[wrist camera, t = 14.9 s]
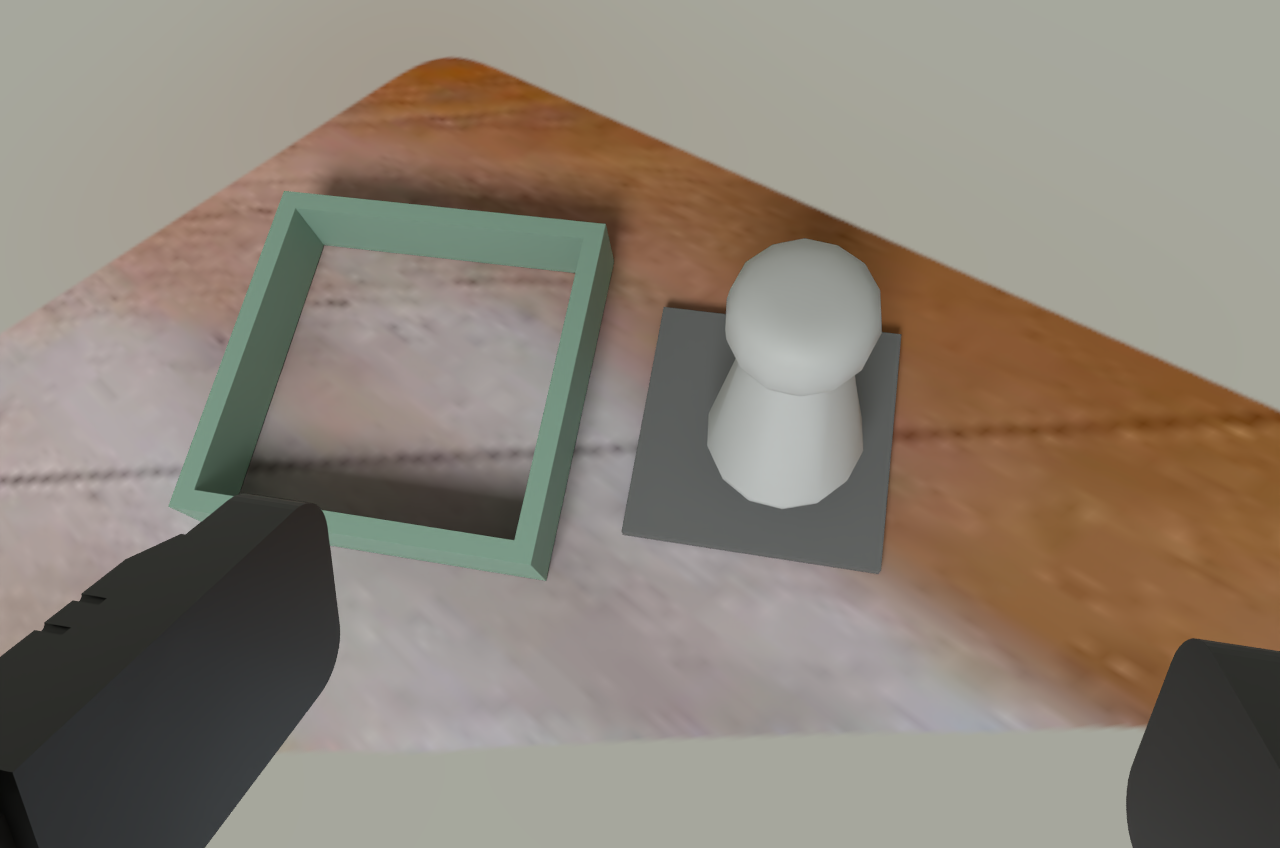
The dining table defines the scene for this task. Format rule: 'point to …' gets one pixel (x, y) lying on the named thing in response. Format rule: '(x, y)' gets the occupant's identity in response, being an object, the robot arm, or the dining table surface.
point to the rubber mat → (712, 509)
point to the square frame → (413, 231)
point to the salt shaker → (794, 373)
